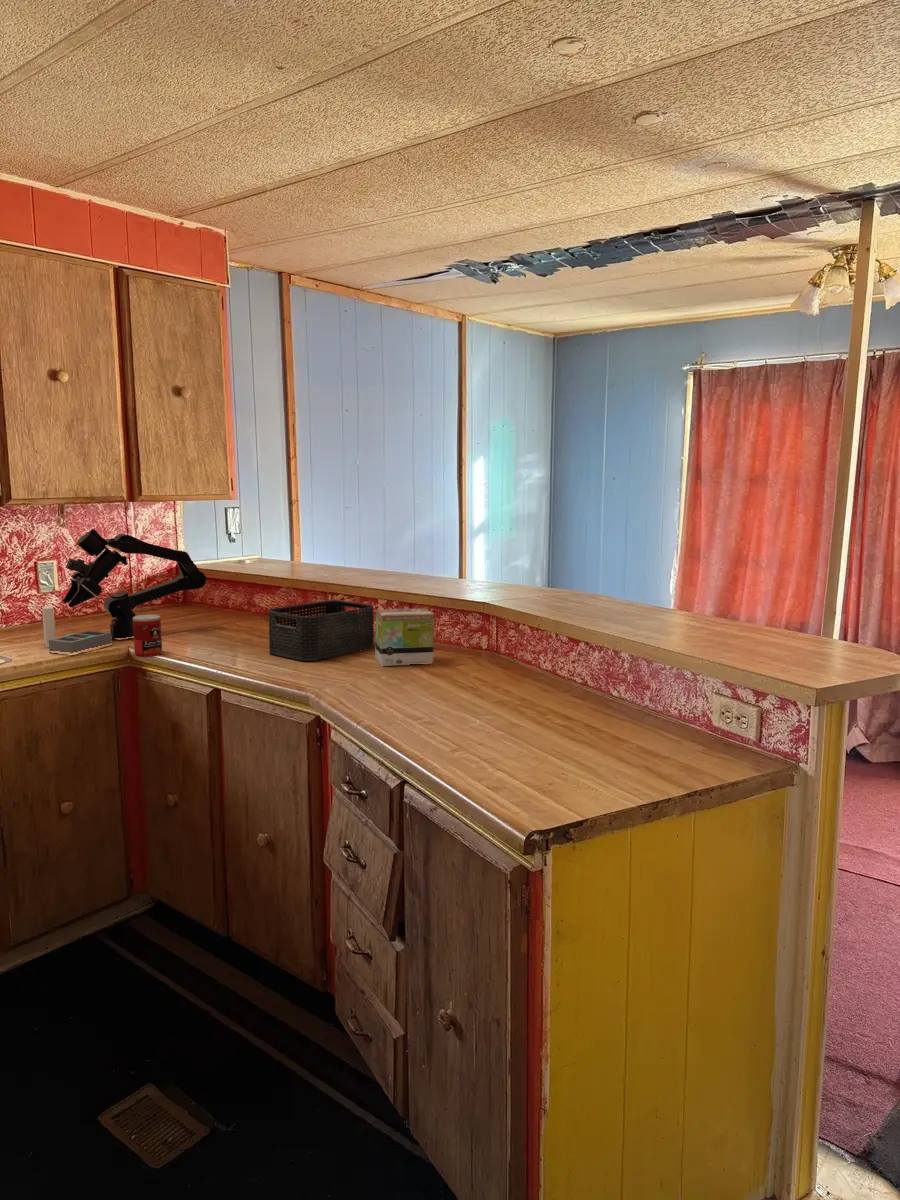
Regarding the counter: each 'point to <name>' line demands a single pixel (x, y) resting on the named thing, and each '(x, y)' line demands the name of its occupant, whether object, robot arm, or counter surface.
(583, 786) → the counter surface
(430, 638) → the tea box
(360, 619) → the storage bin
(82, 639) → the frame
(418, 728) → the counter surface
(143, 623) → the canned food
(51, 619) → the block
